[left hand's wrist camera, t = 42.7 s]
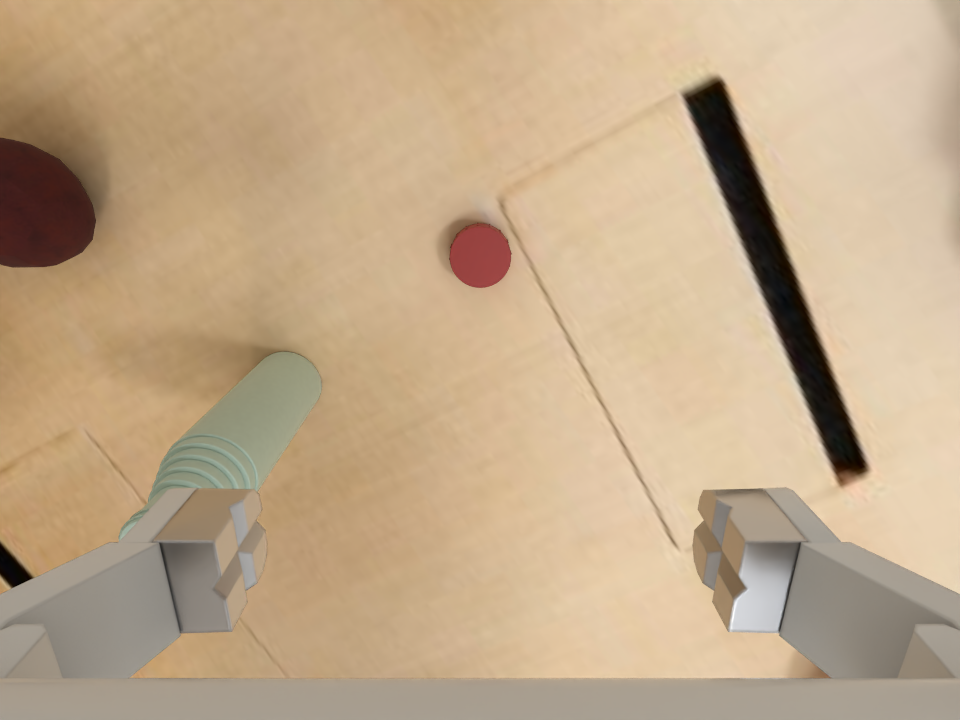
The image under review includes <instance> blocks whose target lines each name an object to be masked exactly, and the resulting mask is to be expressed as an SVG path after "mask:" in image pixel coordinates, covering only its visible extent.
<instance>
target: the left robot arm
mask: <svg viewBox="0 0 960 720" xmlns="http://www.w3.org/2000/svg"><path fill="white" fill-rule="evenodd" d="M261 511H262V506H261V500H260V495H259V493H258V492H257V491H256V490H255V489H225V488H201V489H200V488H173V489H169V490H167V491H166V492H165V493H164V494H163V495H162V496H161V497H160V498H159V499H158V501H157V502H156V503H155V504H154V505H153V506H152V507H151V508H150V509H149V510H148V511H147V512H146V513H145V514H144V516H143V517H142V518H141V519H140V520H139V521H138V522H137V523H136V524H135V525H134V526H133V527H132V528H131V529H130V530H129V532H128V533H127V534H126V535H125V536H124V537H123V538H122V539H121V540H120V541H119V542H109V543H107V544H105V545H103V546H101V547H99V548H96V549H94V550H92V551H90V552H88V553H86V554H84V555H82V556H80V557H78V558H75V559H73V560H71V561H69V562H67V563H65V564H63V565H61V566H59V567H56V568H54V569H52V570H50V571H48V572H46V573H44V574H42V575H40V576H37V577H35V578H33V579H31V580H29V581H27V582H25V583H23V584H21V585H18V586H16V587H14V588H12V589H10V590H8V591H6V592H4V593H2V594H0V720H960V594H958V593H956V592H954V591H952V590H950V589H948V588H945V587H943V586H941V585H939V584H937V583H935V582H933V581H931V580H929V579H927V578H924V577H922V576H920V575H918V574H916V573H914V572H912V571H910V570H908V569H906V568H903V567H901V566H899V565H897V564H895V563H893V562H891V561H889V560H887V559H885V558H882V557H880V556H878V555H876V554H874V553H872V552H870V551H868V550H866V549H863V548H861V547H859V546H857V545H855V544H853V543H851V542H841V541H840V540H839V539H838V538H837V537H836V536H835V535H834V534H833V533H832V532H831V530H830V529H829V528H828V527H827V526H826V525H825V524H824V523H823V522H822V521H821V520H820V519H819V518H818V517H817V515H816V514H815V513H814V512H813V511H812V510H811V509H810V508H809V507H808V506H807V505H806V504H805V503H804V502H803V500H802V499H801V498H800V497H799V496H798V495H797V494H796V493H795V492H794V491H793V490H791V489H788V488H786V487H785V488H759V489H726V490H703V492H702V494H701V496H700V499H699V505H698V511H699V513H700V514H701V516H702V518H703V519H704V521H703V522H702V523H701V524H700V525H699V526H698V527H697V528H696V529H695V530H694V539H693V555H694V563H695V566H696V569H697V573H698V575H699V577H700V579H701V581H702V583H703V584H705V585H706V586H708V587H709V588H711V589H712V590H714V595H713V601H712V602H713V604H714V606H715V608H716V610H717V612H718V613H719V615H720V617H721V619H722V621H723V623H724V625H725V627H726V629H727V631H728V632H755V633H780V634H779V636H780V637H782V638H783V639H784V640H785V641H786V642H788V643H789V644H790V645H791V646H793V647H794V648H795V649H796V650H798V651H799V652H800V653H801V654H802V655H804V656H805V657H806V658H807V659H809V660H810V661H811V662H812V663H813V664H815V665H816V666H817V667H818V668H820V669H821V670H822V671H823V672H824V673H826V674H827V675H828V676H829V677H831V678H130V677H131V676H132V675H133V674H134V673H136V672H137V671H138V670H139V669H141V668H142V667H143V666H144V665H146V664H147V663H148V662H149V661H150V660H152V659H153V658H154V657H155V656H157V655H158V654H159V653H160V652H161V651H163V650H164V649H165V648H166V647H168V646H169V645H170V644H171V643H173V642H174V641H175V640H176V639H177V638H179V637H180V636H181V634H180V633H204V632H232V631H233V629H234V627H235V625H236V623H237V621H238V619H239V617H240V615H241V614H242V612H243V610H244V608H245V606H246V604H247V602H248V601H247V595H246V590H248V589H249V588H251V587H252V586H254V585H255V584H257V583H258V581H259V579H260V577H261V574H262V572H263V570H264V565H265V561H266V557H267V537H266V530H265V529H264V528H263V527H262V526H261V525H260V524H259V523H258V522H257V521H256V519H257V518H258V516H259V514H260V513H261Z"/></svg>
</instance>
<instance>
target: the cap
mask: <svg viewBox="0 0 960 720" xmlns="http://www.w3.org/2000/svg"><path fill="white" fill-rule="evenodd" d="M450 248H451V251H450V258H449V260H450V263H451V267H452V270H453V271H454V273H455V275H456V276H457V277H458V278H459V279H460V280H461V281H462V282H463V283H465V284H467V285H469V286H472V287H477V288H483V287H489V286H492V285H494V284H496V283H497V282H499V281H500V280H501V279H502V278H503V277H504V276H505V274H506V273H507V271H508V269H509V267H510V262H511V251H510V248H509V245H508V240H507V239H506V238H505V236H504V235H503V234H502V233H501V230H498V229H497V228H495V227H493V226H491V225H490V224H489V225H488V224H478V223H477V224H473V225H470V226H468V227H467V226H466V228H464V229H463V230H461V231H460V232H459V233H457V235H456V237H455V239H454V241H453V244H451V247H450Z"/></svg>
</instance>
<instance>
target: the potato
mask: <svg viewBox="0 0 960 720" xmlns="http://www.w3.org/2000/svg"><path fill="white" fill-rule="evenodd" d="M95 222H96V219H95V214H94V210H93V205H92V203H91V201H90V199H89V197H88V196H87V194H86V192H85V190H84V188H83V186H82V185H81V183H80V181H79V180H78V178H77V177H76V176H75V175H74V174H73V173H72V172H71V171H70V170H69V169H68V168H67V167H66V166H65V165H64V164H63V162H62V161H61V160H60V159H58V158H56V157H54V156H52V155H50V154H48V153H46V152H44V151H42V150H40V149H38V148H36V147H34V146H32V145H30V144H26V143H23V142H19V141H15V140H10V139H4V138H0V264H1V265H4V266H9V267H47V266H54V265H57V264H60V263H62V262H64V261H66V260H68V259H70V258H72V257H74V256H76V255H78V254H80V253H82V252H83V251H84V249H85V248H86V247H87V246H88V244H89V243H90V242H91V241H92V240H93V234H94V228H95Z"/></svg>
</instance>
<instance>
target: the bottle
mask: <svg viewBox="0 0 960 720" xmlns="http://www.w3.org/2000/svg"><path fill="white" fill-rule="evenodd" d="M321 389H322V384H321V378H320V375H319V373H318V371H317V369H316V368H315V367H314V365H313V364H312V363H311V362H310V361H309V360H307V359H306V358H304V357H303V356H301V355H298V354H296V353H292V352H277V353H273V354H271V355H269V356H267V357H265V358H264V359H263V360H262V361H261V362H260V363H259V364H258V365H257V366H256V367H255V368H253V369H252V370H251V371H250V372H249V373H248V374H247V375H246V376H245V377H244V378H243V379H242V380H241V381H240V382H239V383H238V384H237V385H236V386H235V387H233V388H232V389H231V390H230V391H229V392H228V393H227V394H226V395H225V396H224V397H223V398H222V399H221V400H220V401H219V402H218V403H217V404H216V405H215V406H213V407H212V408H211V409H210V410H209V411H208V412H207V413H206V414H205V415H204V416H203V417H202V418H201V419H200V420H199V421H198V422H197V423H196V424H195V425H194V426H192V427H191V428H190V429H189V430H188V431H187V432H186V433H185V434H184V435H183V436H182V437H181V438H180V439H179V440H178V441H177V442H176V443H175V444H174V445H173V446H172V447H171V448H170V449H169V451H168V453H167V455H166V456H165V457H164V459H163V460H162V462H161V464H160V468H159V471H158V473H157V476H156V480H155V482H154V484H153V488H152V491H151V493H150V495H149V499H148V503H147V504H146V505H145V506H144V507H143V509H142V510H140V511H139V512H137V513H136V514H134V515H133V516H132V517H131V518H130V520H128V521H127V522H126V523H125V525H124V526H123V527H122V529H121V531H120V534H119V541H120V540H121V539H122V538H123V537H124V536H125V535H126V534H127V533H128V532H129V530H130V529H131V528H132V527H133V526H134V525H135V524H136V523H137V522H138V521H139V520H140V519H141V518H142V517H143V516H144V514H145V513H146V512H147V511H148V510H149V509H150V508H151V507H152V506H153V505H154V504H155V503H156V502H157V501H158V499H159V498H160V497H161V496H162V495H163V494H164V493H165V492H166V491H167V490H169V489H173V488H200V489H201V488H225V489H255V490H256V491H257V492H258V490H259V489H260V487H261V486H262V484H263V483H264V481H265V480H266V478H267V477H268V475H269V474H270V472H271V471H272V469H273V467H274V466H275V464H276V463H277V461H278V460H279V458H280V457H281V455H282V454H283V452H284V451H285V449H286V448H287V446H288V445H289V443H290V442H291V440H292V439H293V437H294V436H295V434H296V433H297V431H298V429H299V428H300V426H301V425H302V423H303V422H304V420H305V419H306V417H307V416H308V414H309V413H310V411H311V410H312V408H313V407H314V405H315V404H316V402H317V401H318V399H319V397H320V394H321Z"/></svg>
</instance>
